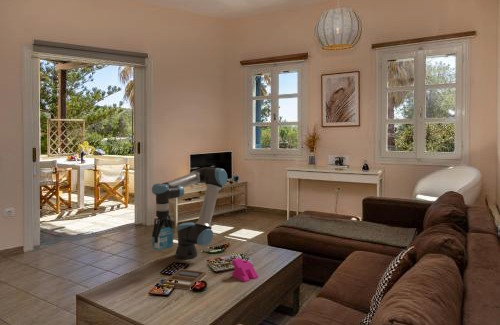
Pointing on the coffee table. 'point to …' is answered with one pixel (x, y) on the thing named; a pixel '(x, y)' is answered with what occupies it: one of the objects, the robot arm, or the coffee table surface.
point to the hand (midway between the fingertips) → (162, 244)
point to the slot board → (184, 279)
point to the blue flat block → (164, 239)
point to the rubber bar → (189, 274)
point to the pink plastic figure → (243, 270)
